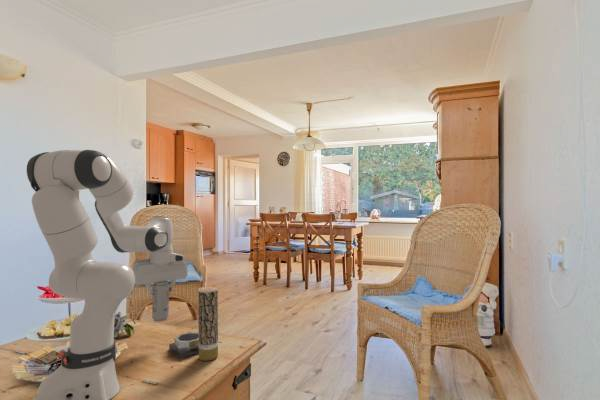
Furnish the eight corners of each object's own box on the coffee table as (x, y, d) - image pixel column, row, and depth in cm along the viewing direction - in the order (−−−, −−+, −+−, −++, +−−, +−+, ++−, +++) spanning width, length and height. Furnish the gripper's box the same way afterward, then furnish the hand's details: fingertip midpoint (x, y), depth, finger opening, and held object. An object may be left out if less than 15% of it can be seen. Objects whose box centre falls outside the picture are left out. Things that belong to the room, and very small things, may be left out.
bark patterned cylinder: (212, 362, 121) (212, 291, 121) (195, 360, 122) (195, 290, 122) (221, 354, 127) (220, 286, 128) (204, 352, 129) (204, 286, 129)
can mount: (180, 359, 123) (180, 345, 123) (169, 349, 132) (169, 336, 132) (208, 350, 131) (208, 337, 131) (196, 341, 139) (196, 329, 139)
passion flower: (110, 352, 142) (91, 330, 140) (124, 337, 153) (106, 317, 151) (130, 338, 140) (111, 316, 139) (143, 324, 151) (126, 303, 150)
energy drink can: (168, 321, 132) (168, 282, 132) (151, 322, 130) (152, 283, 130) (169, 316, 138) (169, 279, 138) (152, 317, 136) (153, 279, 136)
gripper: (135, 261, 125) (134, 299, 125) (189, 256, 139) (189, 290, 138) (130, 259, 130) (130, 296, 130) (182, 254, 143) (182, 287, 143)
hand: (160, 293), depth 134 cm, fingers closed on energy drink can, 6 cm apart
